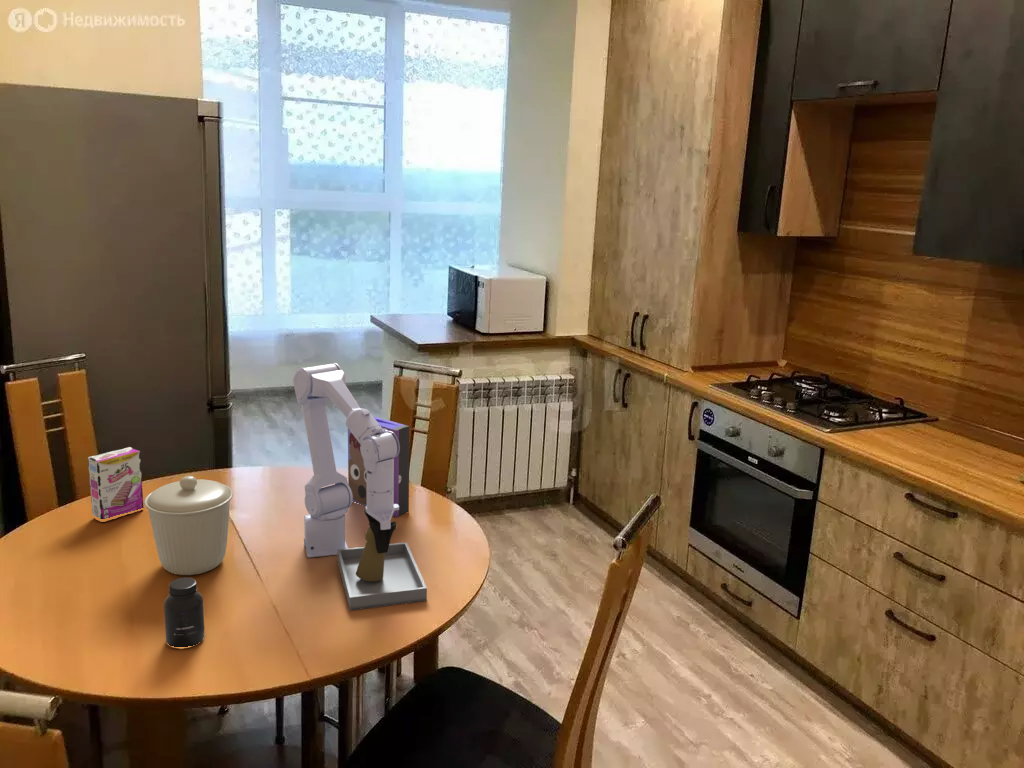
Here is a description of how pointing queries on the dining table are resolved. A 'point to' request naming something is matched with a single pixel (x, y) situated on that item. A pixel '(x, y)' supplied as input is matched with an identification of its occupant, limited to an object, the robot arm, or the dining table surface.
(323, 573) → the dining table surface
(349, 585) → the box
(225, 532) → the canister
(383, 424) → the cereal box
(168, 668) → the dining table surface
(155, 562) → the dining table surface
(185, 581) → the supplement bottle
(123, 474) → the candy bar box
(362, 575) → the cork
